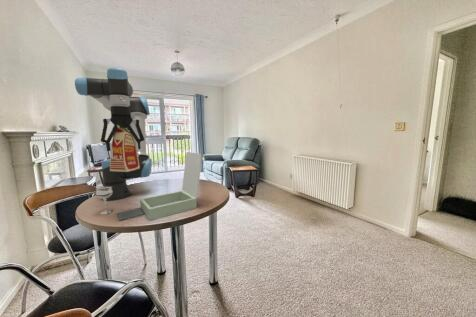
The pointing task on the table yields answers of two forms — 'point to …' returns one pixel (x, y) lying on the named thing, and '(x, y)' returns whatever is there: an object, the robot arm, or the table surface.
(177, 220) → the table surface
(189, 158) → the lid
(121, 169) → the milk carton
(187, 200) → the green shallow open box
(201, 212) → the table surface
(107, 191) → the wineglass
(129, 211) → the mat
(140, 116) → the robot arm
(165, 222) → the table surface
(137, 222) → the table surface
